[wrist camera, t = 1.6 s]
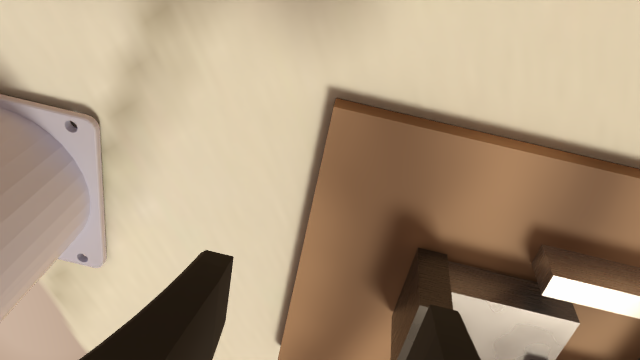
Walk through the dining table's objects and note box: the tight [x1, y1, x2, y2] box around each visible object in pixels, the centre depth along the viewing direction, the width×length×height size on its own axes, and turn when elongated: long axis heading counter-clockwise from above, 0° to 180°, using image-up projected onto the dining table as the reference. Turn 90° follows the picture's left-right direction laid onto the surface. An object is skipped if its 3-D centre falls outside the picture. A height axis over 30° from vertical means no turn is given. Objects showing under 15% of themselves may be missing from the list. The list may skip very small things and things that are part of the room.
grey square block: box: [390, 248, 580, 360], centre depth 20 cm, size 6×6×3 cm
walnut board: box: [278, 98, 640, 360], centre depth 22 cm, size 18×14×1 cm
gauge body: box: [532, 244, 640, 360], centre depth 20 cm, size 8×7×3 cm
